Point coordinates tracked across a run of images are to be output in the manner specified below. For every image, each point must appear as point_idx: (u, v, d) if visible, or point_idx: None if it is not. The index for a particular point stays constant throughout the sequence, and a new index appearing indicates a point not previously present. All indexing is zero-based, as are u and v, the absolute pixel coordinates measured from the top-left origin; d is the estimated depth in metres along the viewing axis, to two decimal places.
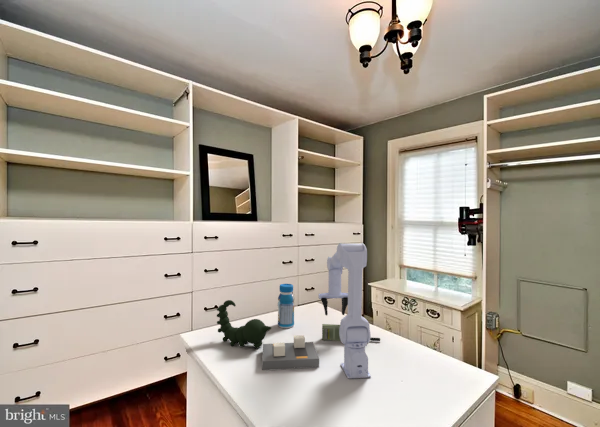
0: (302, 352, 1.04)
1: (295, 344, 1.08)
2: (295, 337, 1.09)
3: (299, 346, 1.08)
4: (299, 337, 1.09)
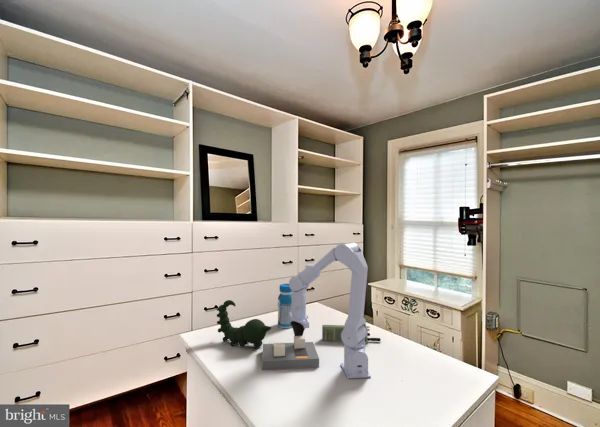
0: (302, 352, 1.04)
1: (295, 344, 1.07)
2: (295, 338, 1.09)
3: (299, 347, 1.08)
4: (299, 337, 1.09)
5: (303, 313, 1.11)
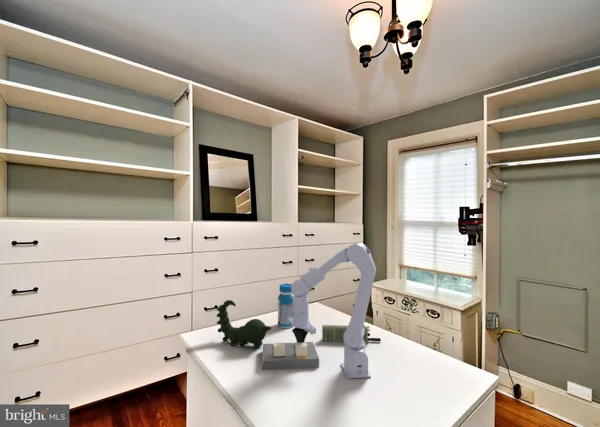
0: None
1: (297, 352, 1.01)
2: (297, 345, 1.02)
3: (301, 354, 1.01)
4: (301, 344, 1.03)
5: (307, 318, 1.05)
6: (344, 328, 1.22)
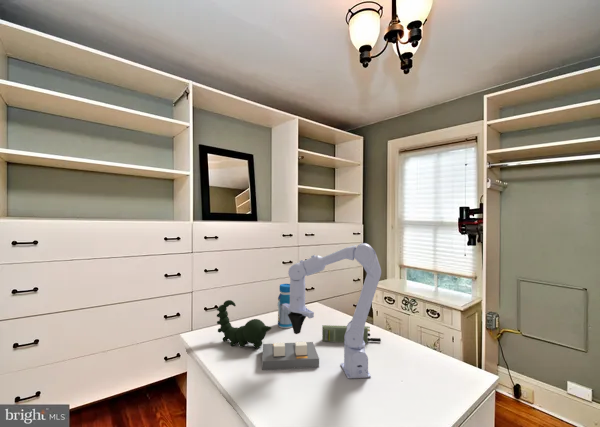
0: None
1: (296, 351, 1.02)
2: (297, 344, 1.03)
3: (301, 353, 1.02)
4: (301, 343, 1.03)
5: (304, 303, 1.03)
6: (344, 328, 1.21)
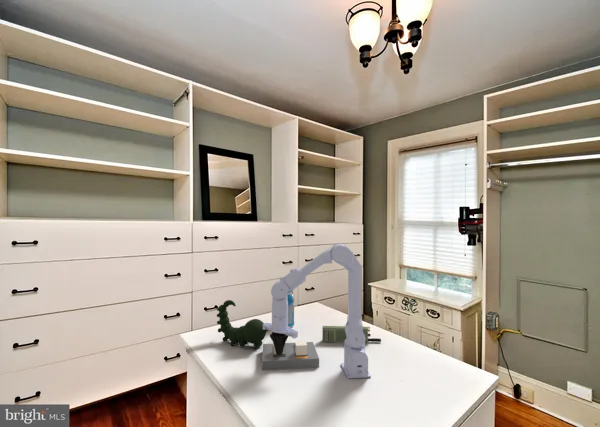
0: None
1: (296, 351, 1.02)
2: (297, 344, 1.03)
3: (301, 353, 1.02)
4: (301, 343, 1.03)
5: (287, 322, 1.00)
6: (344, 329, 1.21)
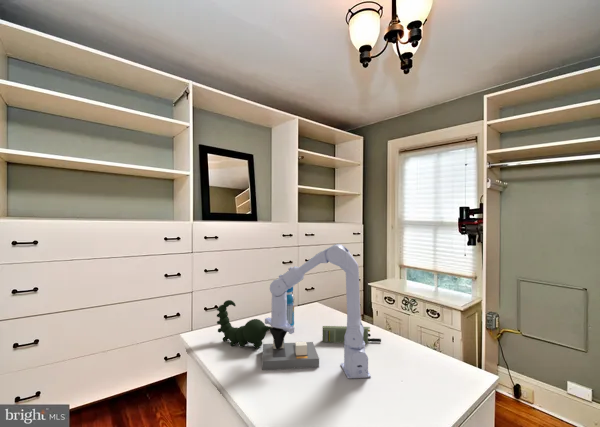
0: None
1: (296, 351, 1.02)
2: (297, 344, 1.03)
3: (301, 353, 1.02)
4: (301, 343, 1.03)
5: (285, 318, 1.05)
6: (344, 329, 1.21)
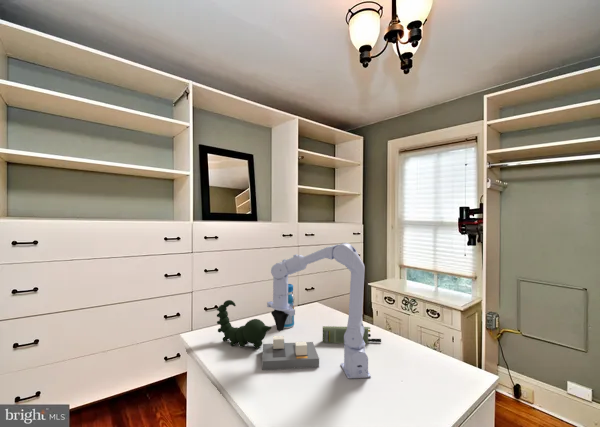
0: None
1: (296, 351, 1.02)
2: (297, 344, 1.03)
3: (301, 353, 1.02)
4: (301, 343, 1.03)
5: (286, 301, 1.06)
6: (345, 329, 1.20)
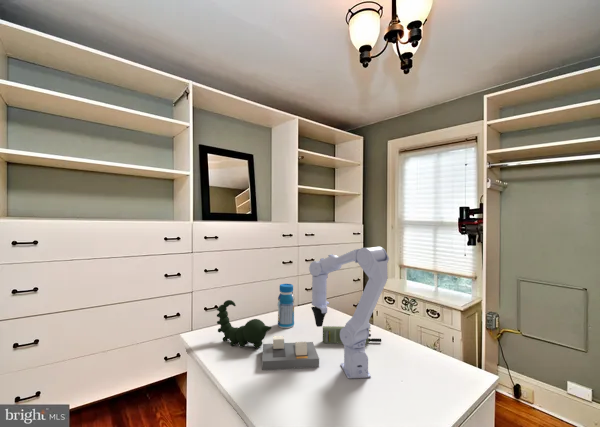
0: None
1: (296, 351, 1.02)
2: (297, 344, 1.03)
3: (301, 353, 1.02)
4: (301, 343, 1.03)
5: (323, 298, 1.10)
6: None
